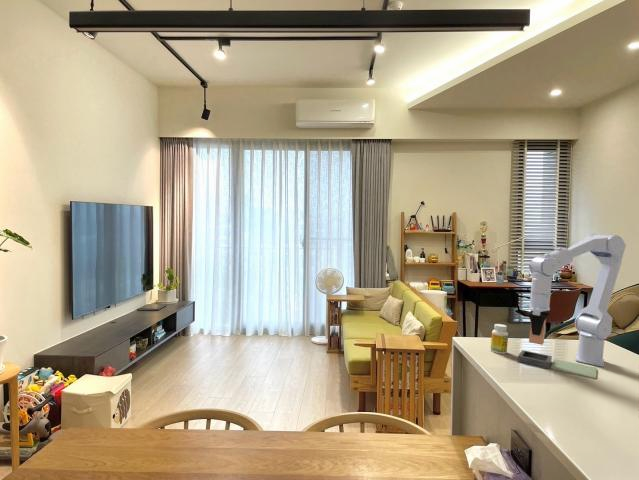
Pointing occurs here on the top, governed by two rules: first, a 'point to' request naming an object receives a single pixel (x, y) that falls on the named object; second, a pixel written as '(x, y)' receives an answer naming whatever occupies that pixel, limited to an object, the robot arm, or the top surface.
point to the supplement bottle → (499, 339)
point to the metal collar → (535, 359)
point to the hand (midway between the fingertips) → (537, 333)
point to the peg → (536, 338)
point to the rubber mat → (574, 368)
